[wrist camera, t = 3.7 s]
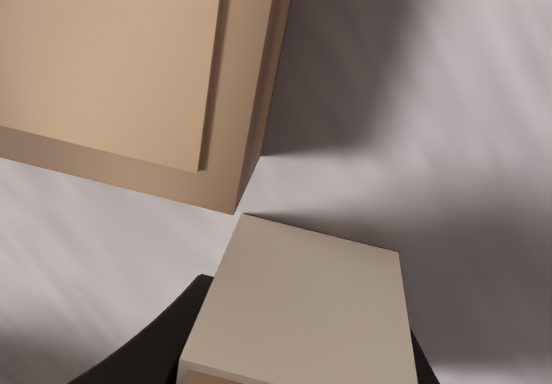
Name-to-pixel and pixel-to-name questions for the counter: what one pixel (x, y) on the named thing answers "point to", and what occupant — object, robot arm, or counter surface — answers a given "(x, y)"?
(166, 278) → the counter surface
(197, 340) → the beige rectangular block
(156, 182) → the tan square tray
